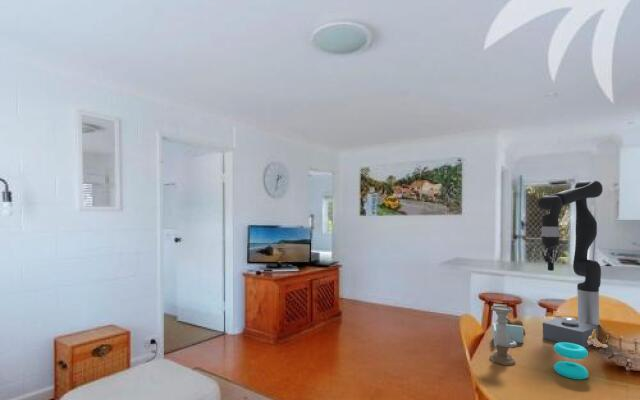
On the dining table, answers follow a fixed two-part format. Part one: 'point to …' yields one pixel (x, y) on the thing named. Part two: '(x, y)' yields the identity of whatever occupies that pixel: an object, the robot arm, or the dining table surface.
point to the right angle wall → (511, 334)
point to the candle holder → (502, 337)
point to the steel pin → (569, 321)
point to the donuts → (569, 367)
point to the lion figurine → (515, 323)
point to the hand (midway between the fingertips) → (550, 270)
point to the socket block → (568, 332)
